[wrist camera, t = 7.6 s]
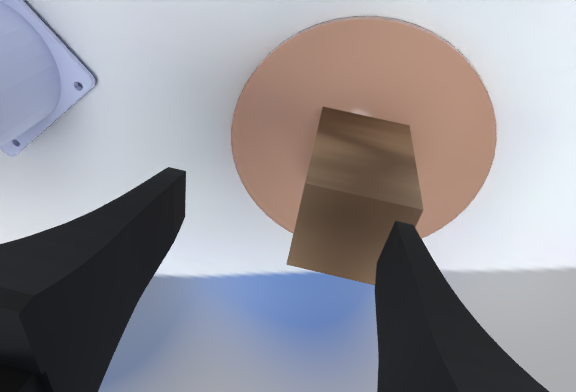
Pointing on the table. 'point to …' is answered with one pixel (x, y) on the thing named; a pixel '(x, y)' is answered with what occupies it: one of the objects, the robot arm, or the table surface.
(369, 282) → the walnut block
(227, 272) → the table surface
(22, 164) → the table surface
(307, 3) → the table surface
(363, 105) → the peach round plate
